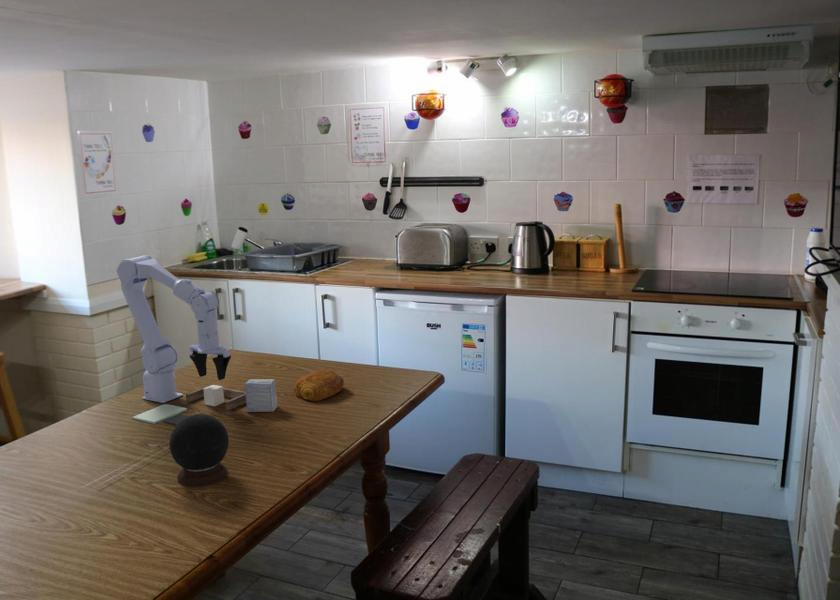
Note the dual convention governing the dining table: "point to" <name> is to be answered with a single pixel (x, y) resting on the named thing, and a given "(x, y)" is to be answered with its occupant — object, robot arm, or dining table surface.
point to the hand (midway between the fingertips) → (212, 377)
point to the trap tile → (175, 419)
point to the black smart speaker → (199, 450)
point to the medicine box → (261, 395)
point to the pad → (159, 413)
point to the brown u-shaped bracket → (236, 396)
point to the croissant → (318, 385)
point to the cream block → (213, 395)
